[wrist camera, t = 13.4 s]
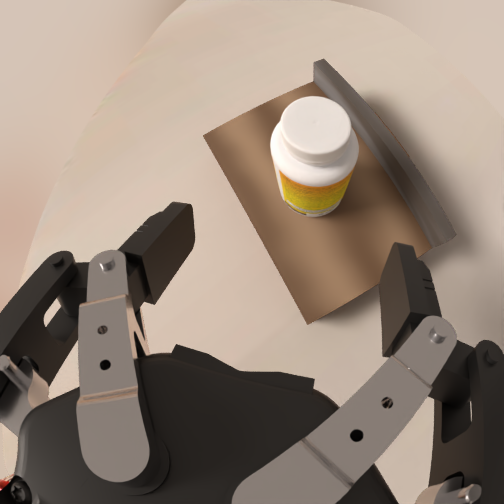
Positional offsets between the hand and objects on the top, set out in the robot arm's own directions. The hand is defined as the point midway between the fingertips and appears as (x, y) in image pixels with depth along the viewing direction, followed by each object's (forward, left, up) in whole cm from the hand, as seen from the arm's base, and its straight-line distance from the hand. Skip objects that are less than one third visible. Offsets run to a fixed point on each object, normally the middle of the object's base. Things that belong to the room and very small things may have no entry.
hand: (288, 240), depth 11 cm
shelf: (-6, -5, -17) cm, 19 cm away
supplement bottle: (-5, -5, -13) cm, 15 cm away
